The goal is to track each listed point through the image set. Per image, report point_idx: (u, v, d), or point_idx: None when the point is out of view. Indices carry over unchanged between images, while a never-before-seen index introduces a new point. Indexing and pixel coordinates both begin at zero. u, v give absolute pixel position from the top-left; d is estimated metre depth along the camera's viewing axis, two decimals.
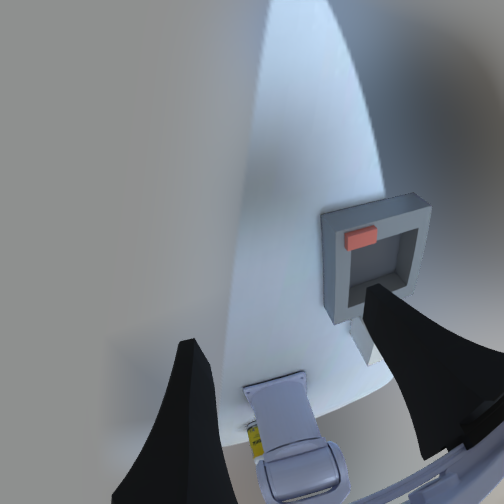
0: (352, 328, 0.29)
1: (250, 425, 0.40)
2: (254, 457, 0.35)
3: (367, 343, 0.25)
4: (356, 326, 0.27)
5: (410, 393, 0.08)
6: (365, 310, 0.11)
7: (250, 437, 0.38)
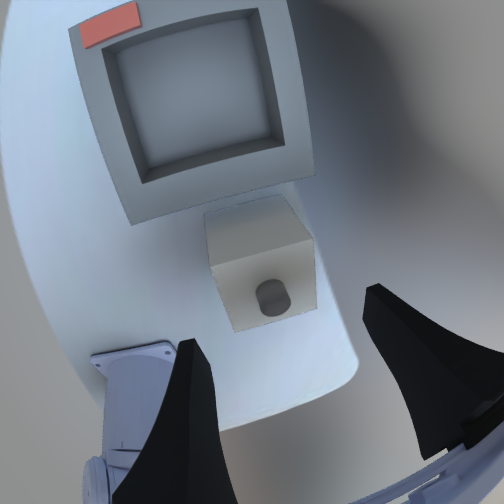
0: None
1: None
2: None
3: None
4: None
5: (410, 393, 0.08)
6: (365, 310, 0.11)
7: None
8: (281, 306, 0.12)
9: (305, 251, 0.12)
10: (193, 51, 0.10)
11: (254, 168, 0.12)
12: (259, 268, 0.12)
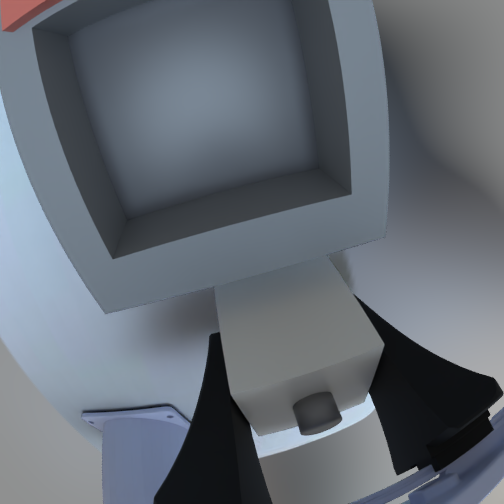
0: None
1: None
2: None
3: None
4: None
5: (381, 407, 0.08)
6: None
7: None
8: (328, 425, 0.08)
9: (370, 359, 0.07)
10: (195, 25, 0.06)
11: (300, 231, 0.07)
12: (303, 386, 0.07)
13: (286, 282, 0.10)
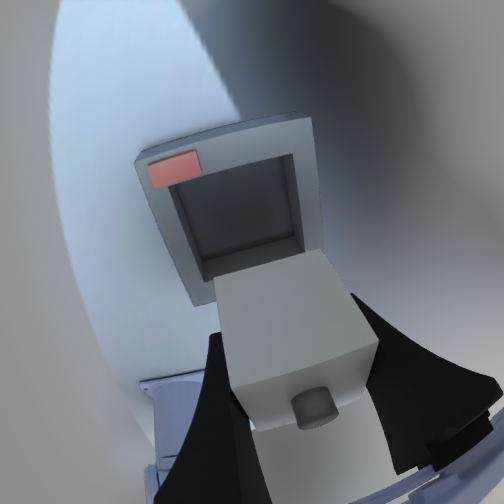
0: None
1: None
2: None
3: None
4: None
5: (381, 407, 0.08)
6: None
7: None
8: (325, 420, 0.08)
9: (365, 355, 0.08)
10: (236, 175, 0.16)
11: None
12: (301, 381, 0.08)
13: (284, 281, 0.10)
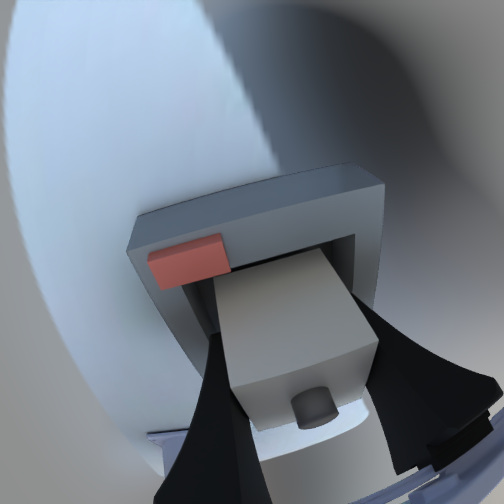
0: None
1: None
2: None
3: None
4: None
5: (381, 407, 0.08)
6: None
7: None
8: (324, 420, 0.08)
9: (365, 354, 0.08)
10: None
11: None
12: (300, 381, 0.08)
13: (284, 280, 0.10)
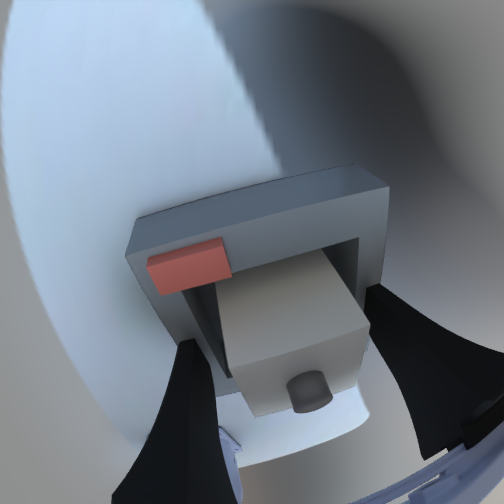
0: None
1: None
2: None
3: None
4: None
5: (410, 393, 0.08)
6: (365, 310, 0.11)
7: None
8: (319, 403, 0.08)
9: (357, 339, 0.08)
10: None
11: None
12: (296, 363, 0.08)
13: (281, 269, 0.11)
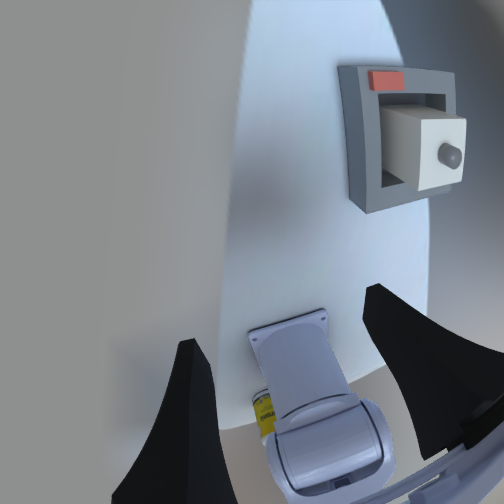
0: None
1: (257, 396, 0.34)
2: (262, 436, 0.30)
3: (409, 138, 0.14)
4: (385, 131, 0.16)
5: (410, 393, 0.08)
6: (365, 310, 0.11)
7: (257, 411, 0.33)
8: (457, 160, 0.13)
9: (462, 127, 0.13)
10: None
11: None
12: (443, 131, 0.13)
13: (412, 107, 0.15)
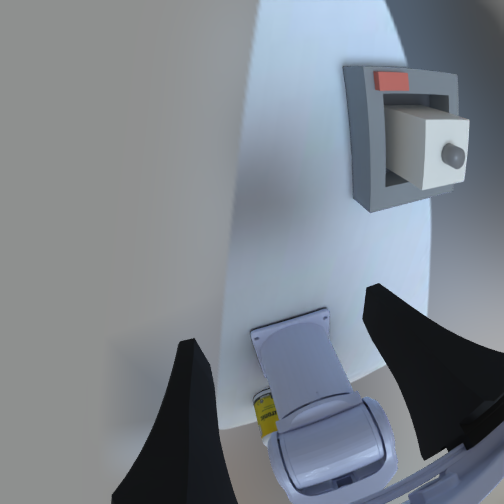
0: None
1: (257, 396, 0.34)
2: (263, 436, 0.30)
3: (414, 138, 0.14)
4: (389, 131, 0.16)
5: (410, 393, 0.08)
6: (365, 310, 0.11)
7: (257, 411, 0.33)
8: (460, 160, 0.13)
9: (465, 128, 0.13)
10: None
11: None
12: (446, 131, 0.13)
13: (415, 108, 0.15)
